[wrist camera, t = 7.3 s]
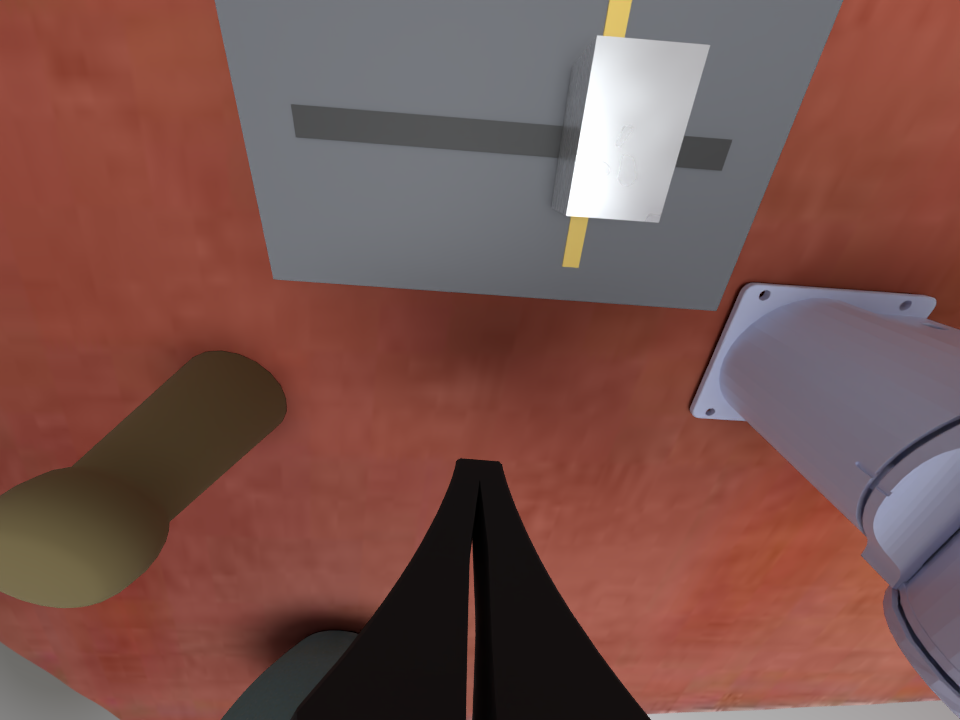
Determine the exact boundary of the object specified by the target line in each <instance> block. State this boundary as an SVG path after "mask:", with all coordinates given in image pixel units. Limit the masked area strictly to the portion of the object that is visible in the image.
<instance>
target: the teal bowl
mask: <svg viewBox="0 0 960 720" xmlns="http://www.w3.org/2000/svg"><path fill="white" fill-rule="evenodd" d="M357 636H358V634H357V633H353V632H347V631H335V630H334V631H323V632H318V633H315V634H312V635H310V636H308V637H307V638H305V639H304V640H302V641H301V642H299V643H298V644H297V645H295V646H294V647H293V648H292V649H290V650H289V651H288V652H287V653H285V654H284V655H283V656H282V657H280V658H279V659H278V660H277V661H276V662H275V663H273V664H272V665H271V666H270V667H269V668H268V669H267V670H266V671H264V672H263V673H262V674H261V675H260V676H259V677H258V678H257V679H256V680H255V681H254V682H253V683H252V684H251V685H250V686H249V687H248V688H247V689H246V691H245V692H244V693H243V694H242V695H241V696H240V697H239V698H238V700H237V701H236V702H235V703H234V704H233V705H232V707H231V708H230V709H229V710H228V711H227V713H226V714H225V715H224V716H223V718H222V719H221V720H290V719H291V717H292V716H293V714H294V712H295V711H296V709H297V707H298V706H299V705H300V704H301V702H302V701H303V700H304V699H305V698H306V697H307V695H308V694H309V693H310V692H311V691H312V690H313V688H314V687H315V686H316V685H317V684H318V683H319V682H320V680H321V679H322V678H323V677H324V676H325V675H326V673H327V672H328V671H329V670H330V669H331V668H332V666H333V665H334V664H335V663H336V662H337V661H338V659H339V658H340V657H341V656H342V655H343V653H344V652H345V651H346V650H347V648H348V647H349V646H350V645H351V643H352V642H353V641H354V639H355V638H356V637H357Z"/></svg>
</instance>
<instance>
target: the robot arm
mask: <svg viewBox="0 0 960 720" xmlns="http://www.w3.org/2000/svg"><path fill="white" fill-rule="evenodd" d="M763 291H765V293H764V295H763V296H762V297H760V298H759V295H760V293H761V292H763ZM935 306H936V299H935V298H933V297H930V296H926V295H918V294H904V293H890V292H876V291H863V290H849V289H835V288H822V287H808V286H794V285H781V284H767V283H749V284H747V285H745V286H744V287H743V288H742V289H741V291H740V293H739V295H738V297H737V300H736V302H735V304H734V307H733V309H732V311H731V314H730V316H729V318H728V321H727V323H726V325H725V328H724V330H723V332H722V335H721V337H720V339H719V342H718V344H717V346H716V349H715V351H714V353H713V356H712V358H711V360H710V363H709V365H708V367H707V369H706V372H705V374H704V376H703V379H702V381H701V383H700V386H699V388H698V390H697V393H696V395H695V397H694V400H693V402H692V404H691V407H690V412H691V414H692V415H693V416H694V417H696V418H707V419H722V420H737V421H747V422H748V423H749V424H750V425H751V426H752V427H753V428H754V429H755V430H756V431H757V432H758V433H759V434H760V435H761V436H762V437H763V438H764V439H765V440H767V441H768V442H769V443H770V444H771V445H772V446H773V447H774V448H775V449H776V450H777V451H778V452H779V453H780V454H781V455H782V456H783V457H784V458H785V459H786V460H787V461H788V462H789V463H790V464H791V465H792V466H793V467H795V468H796V469H797V470H798V471H799V472H800V473H801V474H802V475H803V476H804V477H805V478H806V479H807V480H808V481H809V482H810V483H811V484H812V485H813V486H814V487H815V488H816V489H817V490H818V491H819V492H820V493H821V494H823V495H824V496H825V497H826V498H827V499H828V500H829V501H830V502H831V503H832V504H833V505H834V506H835V507H836V508H837V509H838V510H839V511H840V512H841V513H842V514H843V515H844V516H845V517H846V518H847V519H848V520H850V521H851V522H852V523H853V524H854V525H855V526H856V527H857V528H858V529H859V530H860V531H861V532H862V533H863V534H864V535H865V536H866V537H867V539H868V543H867V546H866V548H865V549H864V551H863V552H862V555H861V556H862V557H863V558H864V559H865V560H866V561H867V562H868V563H869V564H870V565H871V566H872V567H873V568H874V569H875V570H876V571H877V573H878V574H879V575H880V576H881V577H882V578H883V579H884V580H885V581H886V582H887V583H888V584H889V586H888V588H887V589H886V591H885V595H884V600H883V608H884V615H885V618H886V621H887V624H888V627H889V629H890V631H891V633H892V635H893V637H894V639H895V641H896V642H897V644H898V646H899V648H900V649H901V651H902V652H903V654H904V655H905V656H906V658H907V659H908V661H909V662H910V664H911V665H912V667H913V668H914V669H915V670H916V671H917V673H918V674H919V675H920V676H921V678H922V679H923V680H924V681H925V682H926V684H927V685H928V686H929V687H930V689H931V690H932V691H933V692H934V693H935V694H936V695H937V696H938V697H939V698H940V699H941V700H942V701H943V702H944V703H945V704H946V705H947V707H949V709H950V710H951V711H952V712H953V713H954V714H955V715H956V716H958V717H959V718H960V330H959V329H956V328H953V327H950V326H947V325H944V324H941V323H938V322H935V321H932V320H929V319H927V317H928V316H929V315H930V313H931V312H932V310H933V309H934V308H935ZM708 409H710V410H709V411H707V410H708ZM706 411H707V412H706ZM472 543H473V569H474V594H475V633H476V637H475V664H474V690H473V715H472V720H651V719H650V718H649V717H648V715H647V714H646V713H645V712H644V711H643V709H642V708H641V707H640V706H639V704H638V703H637V702H636V701H635V699H634V698H633V697H632V696H631V694H630V693H629V692H628V690H627V689H626V688H625V687H624V685H623V684H622V683H621V681H620V680H619V679H618V677H617V676H616V675H615V673H614V672H613V671H612V669H611V668H610V667H609V665H608V664H607V663H606V661H605V660H604V659H603V657H602V656H601V655H600V653H599V652H598V650H597V649H596V648H595V646H594V645H593V643H592V642H591V640H590V639H589V637H588V636H587V634H586V633H585V631H584V630H583V629H582V627H581V626H580V624H579V623H578V621H577V620H576V618H575V617H574V615H573V614H572V612H571V611H570V609H569V608H568V606H567V604H566V603H565V601H564V600H563V598H562V596H561V595H560V593H559V592H558V590H557V588H556V587H555V585H554V583H553V581H552V580H551V578H550V576H549V574H548V573H547V571H546V569H545V567H544V565H543V564H542V562H541V560H540V558H539V556H538V554H537V552H536V550H535V548H534V546H533V544H532V542H531V540H530V538H529V536H528V534H527V532H526V530H525V527H524V525H523V523H522V520H521V518H520V516H519V513H518V511H517V509H516V506H515V504H514V501H513V499H512V496H511V493H510V490H509V488H508V485H507V482H506V478H505V475H504V471H503V467H502V464H501V463H500V462H499V461H486V460H474V459H461V458H460V459H458V460H457V461H456V465H455V470H454V473H453V476H452V479H451V482H450V485H449V487H448V490H447V492H446V495H445V497H444V499H443V501H442V504H441V506H440V508H439V510H438V512H437V514H436V516H435V518H434V520H433V522H432V524H431V526H430V528H429V530H428V531H427V533H426V535H425V537H424V539H423V541H422V542H421V544H420V546H419V548H418V549H417V551H416V553H415V554H414V556H413V558H412V559H411V561H410V563H409V564H408V566H407V567H406V569H405V570H404V572H403V573H402V575H401V577H400V578H399V580H398V581H397V582H396V584H395V585H394V587H393V588H392V590H391V591H390V593H389V594H388V596H387V597H386V598H385V600H384V601H383V603H382V604H381V605H380V607H379V608H378V610H377V611H376V612H375V614H374V615H373V616H372V618H371V619H370V620H369V621H368V623H367V624H366V625H365V627H364V628H363V629H362V630H361V632H360V633H359V634H358V636H357V637H356V638H355V639H354V641H353V642H352V643H351V645H350V646H349V647H348V648H347V650H346V651H345V652H344V653H343V655H342V656H341V657H340V658H339V659H338V661H337V662H336V663H335V664H334V665H333V666H332V668H331V669H330V670H329V671H328V672H327V673H326V675H325V676H324V677H323V678H322V679H321V680H320V682H319V683H318V684H317V685H316V686H315V687H314V688H313V690H312V691H311V692H310V693H309V694H308V695H307V697H306V698H305V699H304V700H303V701H302V702H301V704H300V705H299V706H298V707H297V709H296V711H295V712H294V714H293V716H292V717H291V719H290V720H466V682H467V635H468V597H469V564H470V552H471V544H472Z"/></svg>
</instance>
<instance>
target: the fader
mask: <svg viewBox="0 0 960 720" xmlns="http://www.w3.org/2000/svg"><path fill="white" fill-rule="evenodd" d="M709 48H710V45H705V44H693V43H682V42H670V41H658V40H647V39H635V38H623V37H611V36H600V35H597V36H596V37H595V39H594V40H593V41H592V42H591V43H590V45H589V46H588V47H587V48H586V50H585V51H584V52H583V53H582V54H581V56H580V57H579V58H578V59H577V61H576V62H575V63H574V64H573V66H572V72H571V79H570V85H569V92H568V99H567V105H566V112H565V119H564V125H563V132H562V138H561V145H560V152H559V158H558V165H557V171H556V178H555V185H554V191H553V198H552V205H551V207H552V208H553V209H555V210H557V211H559V212H560V213H562V214H564V215H566V216H576V217H589V218H602V219H615V220H629V221H642V222H655V223H659V220H660V217H661V213H662V210H663V207H664V203H665V200H666V196H667V193H668V189H669V186H670V182H671V179H672V176H673V172H674V169H675V165H676V162H677V158H678V155H679V151H680V148H681V144H682V141H683V138H684V134H685V131H686V127H687V124H688V120H689V117H690V113H691V110H692V107H693V103H694V100H695V96H696V93H697V89H698V86H699V82H700V79H701V75H702V72H703V69H704V65H705V62H706V58H707V55H708V51H709Z"/></svg>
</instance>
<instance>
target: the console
mask: <svg viewBox="0 0 960 720" xmlns="http://www.w3.org/2000/svg"><path fill="white" fill-rule="evenodd" d="M842 2H843V0H215V4H216V9H217V13H218V18H219V23H220V28H221V32H222V37H223V42H224V47H225V51H226V56H227V61H228V66H229V70H230V75H231V80H232V85H233V89H234V94H235V99H236V103H237V108H238V113H239V118H240V122H241V127H242V132H243V137H244V141H245V146H246V151H247V156H248V160H249V165H250V170H251V175H252V179H253V184H254V189H255V194H256V198H257V203H258V208H259V212H260V217H261V222H262V227H263V231H264V236H265V241H266V246H267V250H268V255H269V260H270V265H271V269H272V274H273V279H277V280H291V281H305V282H319V283H333V284H347V285H361V286H375V287H389V288H403V289H417V290H431V291H445V292H459V293H473V294H487V295H501V296H515V297H529V298H543V299H557V300H571V301H585V302H599V303H613V304H627V305H641V306H655V307H669V308H683V309H696V310H710V311H717V308H718V306H719V303H720V301H721V298H722V296H723V294H724V291H725V289H726V286H727V284H728V281H729V279H730V276H731V274H732V271H733V269H734V267H735V264H736V262H737V259H738V257H739V254H740V252H741V249H742V247H743V244H744V242H745V240H746V237H747V235H748V232H749V230H750V227H751V225H752V222H753V220H754V218H755V215H756V213H757V210H758V208H759V205H760V203H761V200H762V198H763V195H764V193H765V191H766V188H767V186H768V183H769V181H770V178H771V176H772V173H773V171H774V169H775V166H776V164H777V161H778V159H779V156H780V154H781V151H782V149H783V146H784V144H785V142H786V139H787V137H788V134H789V132H790V129H791V127H792V124H793V122H794V119H795V117H796V115H797V112H798V110H799V107H800V105H801V102H802V100H803V97H804V95H805V93H806V90H807V88H808V85H809V83H810V80H811V78H812V75H813V73H814V70H815V68H816V66H817V63H818V61H819V58H820V56H821V53H822V51H823V48H824V46H825V43H826V41H827V39H828V36H829V34H830V31H831V29H832V26H833V24H834V21H835V19H836V17H837V14H838V12H839V9H840V7H841V4H842ZM597 35H600V36H611V37H623V38H635V39H647V40H658V41H670V42H682V43H693V44H705V45H710V48H709V51H708V55H707V58H706V62H705V65H704V69H703V72H702V75H701V79H700V82H699V86H698V89H697V93H696V96H695V100H694V103H693V107H692V110H691V113H690V117H689V120H688V124H687V127H686V131H685V134H684V138H683V141H682V144H681V148H680V151H679V155H678V158H677V162H676V165H675V169H674V172H673V176H672V179H671V182H670V186H669V189H668V193H667V196H666V200H665V203H664V207H663V210H662V213H661V217H660V220H659V223H655V222H642V221H629V220H615V219H602V218H589V217H576V216H566V215H564V214H562V213H560V212H559V211H557V210H555V209H553V208H552V207H551V205H552V198H553V191H554V185H555V178H556V171H557V165H558V158H559V152H560V145H561V138H562V132H563V125H564V119H565V112H566V105H567V99H568V92H569V85H570V79H571V72H572V66H573V64H574V63H575V62H576V61H577V59H578V58H579V57H580V56H581V54H582V53H583V52H584V51H585V50H586V48H587V47H588V46H589V45H590V43H591V42H592V41H593V40H594V39H595V37H596V36H597Z"/></svg>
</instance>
